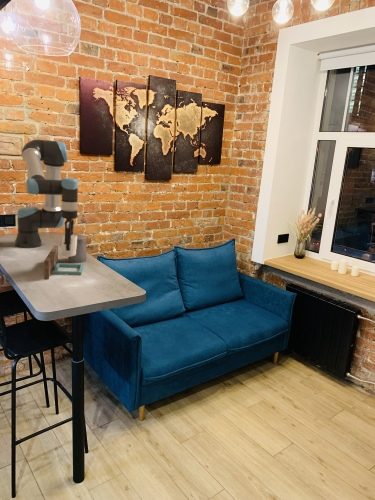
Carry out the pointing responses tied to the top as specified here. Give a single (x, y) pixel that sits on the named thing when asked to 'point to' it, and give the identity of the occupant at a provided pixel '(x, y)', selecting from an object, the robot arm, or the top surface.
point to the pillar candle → (79, 250)
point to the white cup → (73, 244)
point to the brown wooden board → (50, 262)
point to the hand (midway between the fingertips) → (69, 254)
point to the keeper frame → (68, 271)
